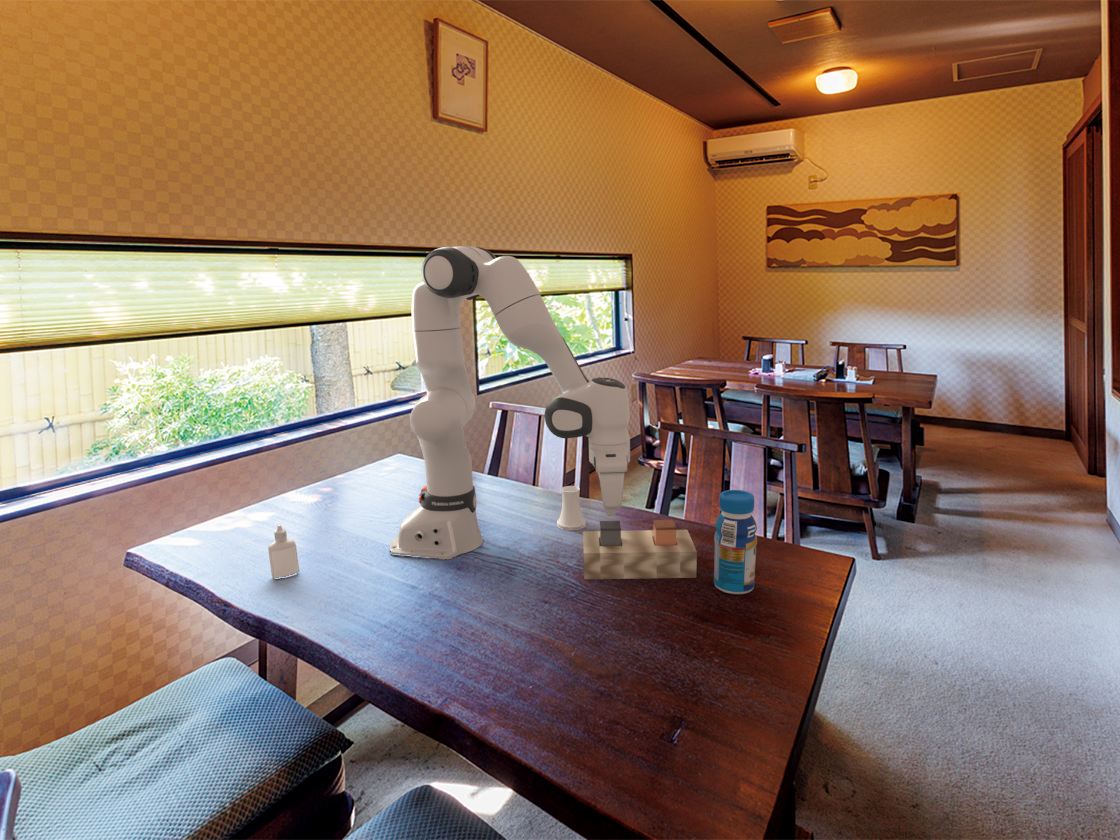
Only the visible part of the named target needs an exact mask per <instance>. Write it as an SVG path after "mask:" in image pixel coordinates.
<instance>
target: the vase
mask: <svg viewBox="0 0 1120 840" xmlns="http://www.w3.org/2000/svg"><path fill="white" fill-rule="evenodd" d="M580 490H581V489H580V487H578V486H575V485H567V486H566V485H565V486H563V487H561V489H560V491H561V496H562V497H561V498H562V500H561V502H562V503H561V504H562V505H561V512H560V514H559V518H558V519H557V520H556V527H557V528H559V529H561V530H563V529H564V531H577V530H581V529H583V528H585V527H586V525H587V524H586V519H585V518H584V517H583V513H582V510H581V506H580Z"/></svg>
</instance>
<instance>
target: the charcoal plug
mask: <svg viewBox="0 0 1120 840" xmlns="http://www.w3.org/2000/svg"><path fill="white" fill-rule="evenodd" d="M599 531H600V546H621V531H622V527H621V521H620V520H600V521H599Z"/></svg>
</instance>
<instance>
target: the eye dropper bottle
mask: <svg viewBox="0 0 1120 840" xmlns="http://www.w3.org/2000/svg"><path fill="white" fill-rule="evenodd" d="M273 535H274V541H273V542H272V543H270V544H269V545H268V548H267V550H268V559H269V566H270V571H271V577H272V579H273V578H279V577H286V576H289V575H293V574H295V573H298V572H299V573H300V564H299V559H298V550H297V544H296V542H295V540H294V539H291V538H288V535H287V530H286V529H283V527H282V525H281V524H279V525H277V529H276V530H274V533H273ZM299 573H298V574H299Z"/></svg>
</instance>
